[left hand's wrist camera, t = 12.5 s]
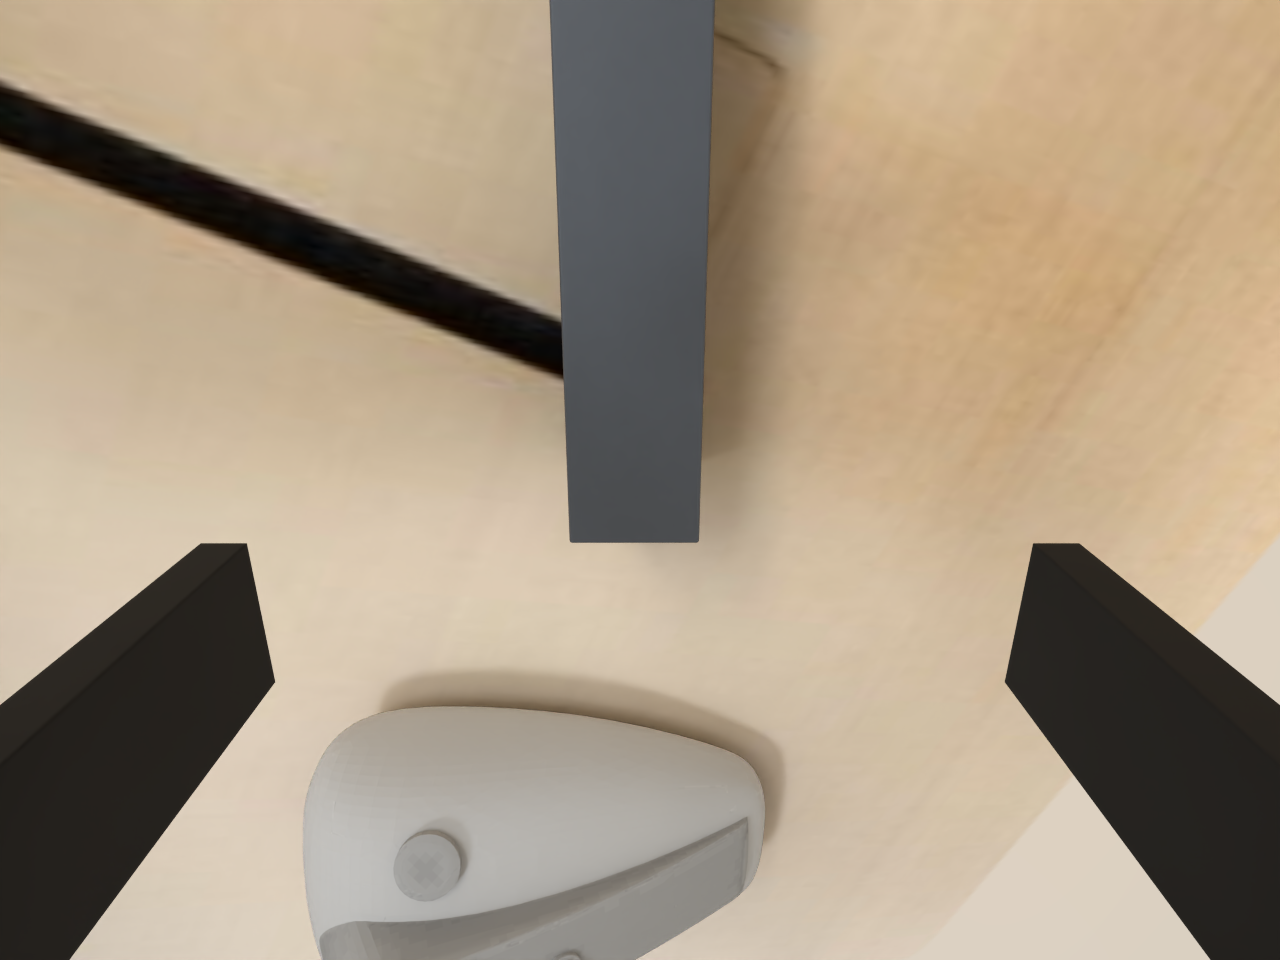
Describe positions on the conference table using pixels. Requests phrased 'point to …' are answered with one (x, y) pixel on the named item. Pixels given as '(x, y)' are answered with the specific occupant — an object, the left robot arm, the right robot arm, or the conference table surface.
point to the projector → (521, 836)
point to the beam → (633, 260)
